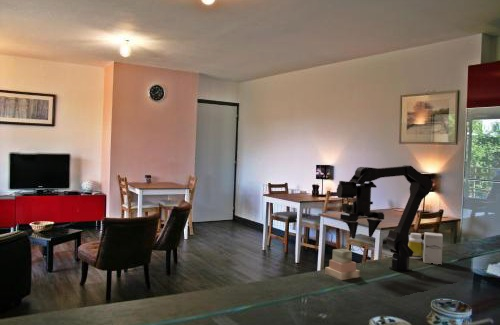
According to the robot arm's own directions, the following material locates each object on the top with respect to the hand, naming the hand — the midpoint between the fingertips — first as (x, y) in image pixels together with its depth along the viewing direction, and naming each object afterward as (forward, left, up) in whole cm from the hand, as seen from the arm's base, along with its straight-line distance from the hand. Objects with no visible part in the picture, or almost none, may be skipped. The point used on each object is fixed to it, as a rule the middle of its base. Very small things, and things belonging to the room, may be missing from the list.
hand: (361, 237), depth 165 cm
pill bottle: (-40, -6, -13) cm, 43 cm away
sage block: (+12, +2, -8) cm, 15 cm away
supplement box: (-40, +3, -13) cm, 42 cm away
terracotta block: (+12, +3, -11) cm, 16 cm away
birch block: (+12, +2, -14) cm, 18 cm away
